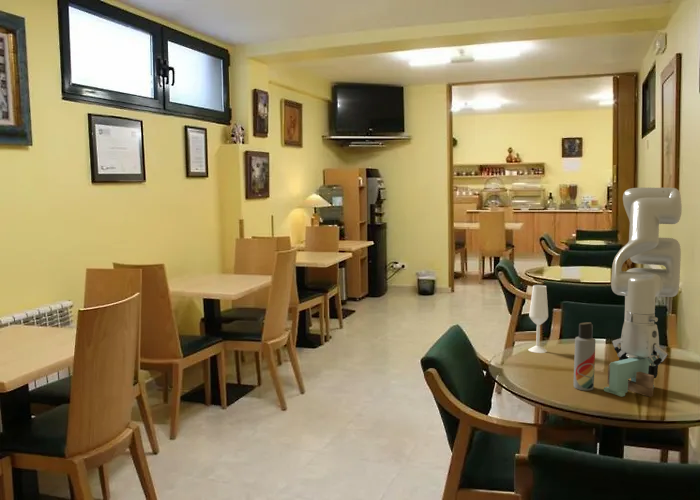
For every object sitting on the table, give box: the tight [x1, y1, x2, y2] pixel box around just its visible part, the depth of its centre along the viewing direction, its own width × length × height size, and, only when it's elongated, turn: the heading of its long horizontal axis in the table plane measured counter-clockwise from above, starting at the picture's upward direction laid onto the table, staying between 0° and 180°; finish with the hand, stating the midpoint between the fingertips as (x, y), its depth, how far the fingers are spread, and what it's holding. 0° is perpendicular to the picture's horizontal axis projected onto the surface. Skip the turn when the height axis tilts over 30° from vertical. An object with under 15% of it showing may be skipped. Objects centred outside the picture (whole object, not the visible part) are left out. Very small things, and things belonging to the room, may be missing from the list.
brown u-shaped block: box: [607, 363, 655, 397], centre depth 184 cm, size 14×2×6 cm, turn 30°
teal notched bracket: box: [603, 356, 655, 397], centre depth 184 cm, size 15×6×9 cm, turn 120°
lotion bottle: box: [573, 321, 596, 392], centre depth 185 cm, size 6×6×20 cm
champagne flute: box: [527, 284, 549, 354], centre depth 227 cm, size 7×7×24 cm
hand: (637, 373), depth 186 cm, fingers open, 9 cm apart
